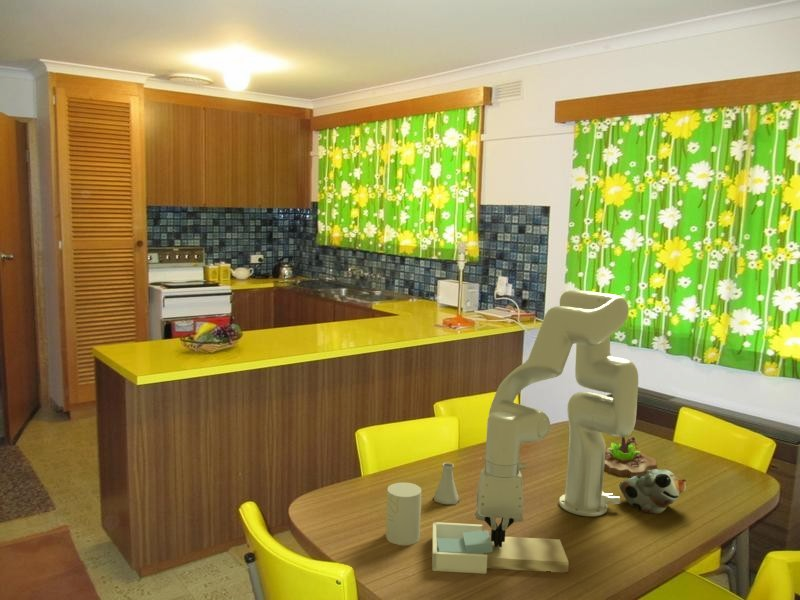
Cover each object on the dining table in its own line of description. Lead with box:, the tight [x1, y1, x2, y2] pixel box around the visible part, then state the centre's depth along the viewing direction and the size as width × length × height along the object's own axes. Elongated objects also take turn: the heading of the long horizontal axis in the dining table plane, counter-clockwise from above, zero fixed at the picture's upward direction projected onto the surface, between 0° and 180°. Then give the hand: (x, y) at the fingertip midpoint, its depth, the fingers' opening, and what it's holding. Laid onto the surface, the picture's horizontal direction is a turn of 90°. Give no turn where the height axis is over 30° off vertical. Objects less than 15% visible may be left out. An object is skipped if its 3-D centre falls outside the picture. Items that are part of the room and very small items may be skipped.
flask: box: [433, 462, 460, 505], centre depth 176 cm, size 7×7×10 cm
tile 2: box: [463, 529, 493, 554], centre depth 147 cm, size 6×6×2 cm
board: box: [484, 535, 570, 573], centre depth 147 cm, size 18×10×2 cm, turn 87°
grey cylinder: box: [385, 482, 422, 546], centre depth 155 cm, size 8×8×12 cm
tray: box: [431, 521, 488, 574], centre depth 148 cm, size 12×15×4 cm
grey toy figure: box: [618, 468, 687, 514], centre depth 176 cm, size 15×12×14 cm
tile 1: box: [437, 538, 466, 553], centre depth 147 cm, size 6×6×2 cm
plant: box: [604, 436, 658, 478], centre depth 206 cm, size 20×20×11 cm
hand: (497, 544), depth 147 cm, fingers closed
